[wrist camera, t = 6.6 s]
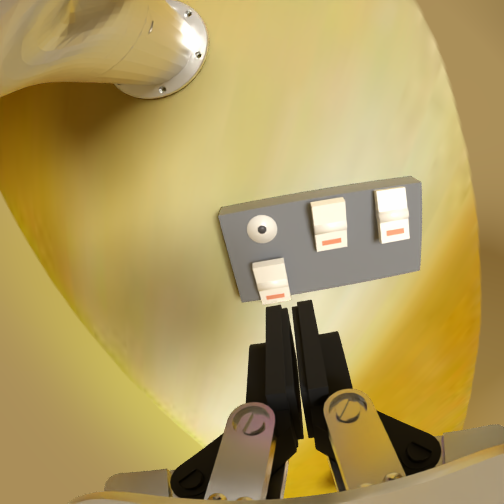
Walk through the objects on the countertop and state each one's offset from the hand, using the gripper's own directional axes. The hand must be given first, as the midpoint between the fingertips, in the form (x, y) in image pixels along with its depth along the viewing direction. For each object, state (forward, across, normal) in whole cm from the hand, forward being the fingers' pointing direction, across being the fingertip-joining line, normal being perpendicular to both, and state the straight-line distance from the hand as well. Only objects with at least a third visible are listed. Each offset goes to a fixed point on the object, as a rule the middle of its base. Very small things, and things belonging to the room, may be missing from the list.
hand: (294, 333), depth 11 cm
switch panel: (+27, -5, +9) cm, 29 cm away
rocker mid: (+23, -5, +6) cm, 24 cm away
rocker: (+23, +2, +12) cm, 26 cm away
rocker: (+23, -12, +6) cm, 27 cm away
